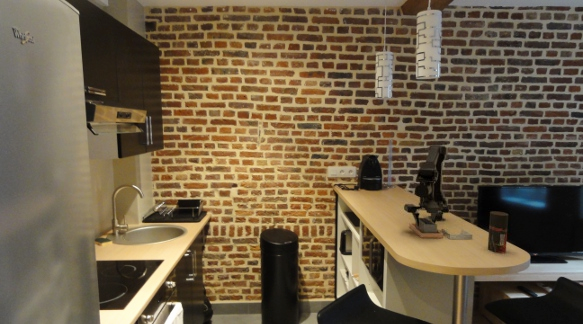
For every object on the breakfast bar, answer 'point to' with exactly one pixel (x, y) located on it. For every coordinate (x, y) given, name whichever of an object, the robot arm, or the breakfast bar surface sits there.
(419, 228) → the box
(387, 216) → the breakfast bar surface
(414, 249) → the breakfast bar surface
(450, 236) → the bay
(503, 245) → the deodorant
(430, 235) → the tray
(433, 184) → the robot arm
